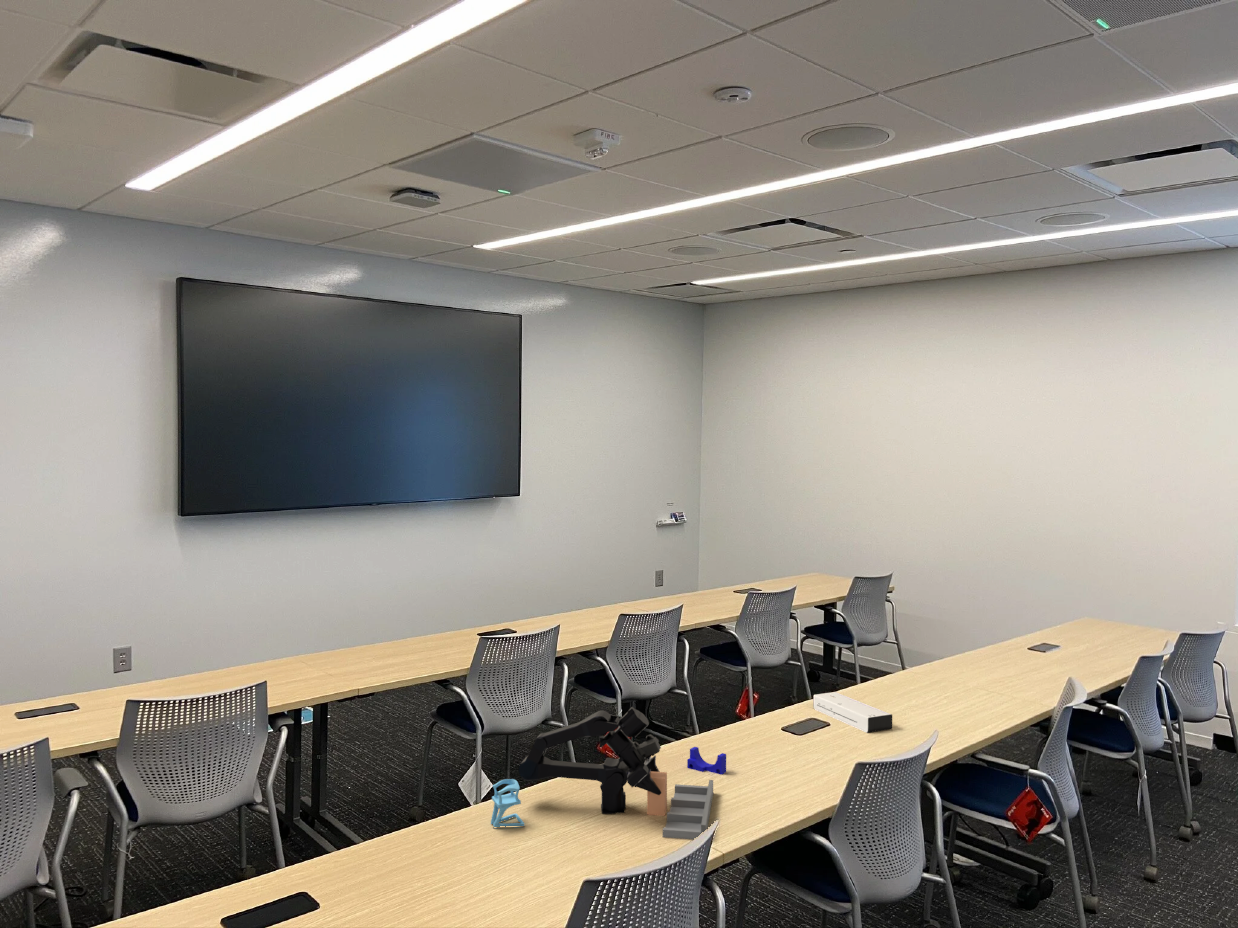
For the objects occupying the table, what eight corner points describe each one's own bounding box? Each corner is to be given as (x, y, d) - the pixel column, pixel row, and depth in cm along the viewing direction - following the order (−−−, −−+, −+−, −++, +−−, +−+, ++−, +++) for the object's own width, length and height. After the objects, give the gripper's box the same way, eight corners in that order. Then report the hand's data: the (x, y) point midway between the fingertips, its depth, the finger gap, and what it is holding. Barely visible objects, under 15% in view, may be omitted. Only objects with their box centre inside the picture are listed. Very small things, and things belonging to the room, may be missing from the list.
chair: (488, 821, 249) (487, 778, 249) (516, 816, 252) (516, 774, 252) (495, 832, 242) (495, 788, 242) (524, 826, 245) (524, 783, 245)
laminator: (813, 709, 358) (813, 694, 358) (838, 706, 363) (838, 691, 363) (868, 734, 327) (868, 717, 327) (894, 730, 332) (894, 713, 332)
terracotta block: (647, 815, 253) (647, 777, 252) (649, 808, 257) (649, 771, 257) (664, 817, 252) (664, 778, 252) (666, 810, 257) (666, 772, 256)
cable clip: (687, 768, 291) (687, 750, 291) (694, 764, 295) (694, 746, 295) (719, 776, 284) (719, 757, 284) (726, 772, 287) (726, 753, 287)
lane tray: (662, 838, 238) (662, 821, 238) (675, 791, 270) (675, 777, 270) (705, 841, 236) (705, 825, 236) (713, 794, 268) (713, 779, 268)
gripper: (639, 739, 246) (678, 781, 244) (648, 719, 264) (685, 758, 262) (611, 765, 247) (650, 808, 245) (621, 744, 266) (658, 783, 264)
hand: (662, 788), depth 254 cm, fingers open, 8 cm apart
